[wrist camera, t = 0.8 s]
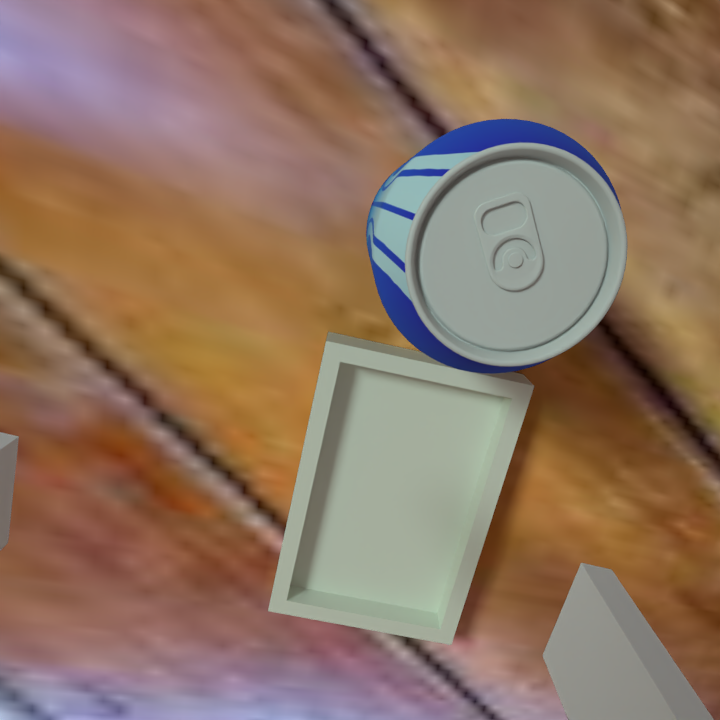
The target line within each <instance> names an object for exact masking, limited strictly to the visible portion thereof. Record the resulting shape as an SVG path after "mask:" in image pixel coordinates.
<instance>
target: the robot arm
mask: <svg viewBox="0 0 720 720" xmlns="http://www.w3.org/2000/svg"><path fill="white" fill-rule="evenodd" d="M18 439H19V436H14V435H10V434H5V433H1V432H0V550H1V549H2V548H3V547H4V546H5V545H6V544H7V543H8V538H9V528H10V518H11V508H12V498H13V488H14V478H15V468H16V459H17V449H18ZM543 658H544V661H545V663H546V666H547V668H548V671H549V673H550V676H551V678H552V681H553V683H554V686H555V688H556V690H557V693H558V695H559V698H560V700H561V703H562V705H563V708H564V710H565V713H566V715H567V718H568V720H714V719H713V718H712V716H711V715H710V713H709V712H708V710H707V709H706V707H705V706H704V704H703V703H702V701H701V700H700V698H699V697H698V696H697V694H696V693H695V691H694V690H693V688H692V687H691V685H690V684H689V682H688V681H687V679H686V678H685V676H684V675H683V674H682V672H681V671H680V669H679V668H678V666H677V665H676V663H675V662H674V660H673V659H672V657H671V656H670V655H669V653H668V652H667V650H666V649H665V647H664V646H663V644H662V643H661V641H660V640H659V638H658V637H657V635H656V634H655V633H654V631H653V630H652V628H651V627H650V625H649V624H648V622H647V621H646V619H645V618H644V616H643V615H642V613H641V612H640V611H639V609H638V608H637V606H636V605H635V603H634V602H633V600H632V599H631V597H630V596H629V594H628V593H627V591H626V590H625V589H624V587H623V586H622V584H621V583H620V581H619V580H618V578H617V577H616V575H615V574H614V572H613V571H612V570H611V569H607V568H602V567H598V566H593V565H589V564H584V563H581V564H580V567H579V569H578V572H577V574H576V576H575V579H574V581H573V584H572V586H571V588H570V591H569V593H568V596H567V598H566V600H565V603H564V605H563V608H562V610H561V612H560V615H559V617H558V620H557V622H556V624H555V627H554V629H553V632H552V634H551V636H550V639H549V641H548V644H547V646H546V648H545V651H544V653H543Z"/></svg>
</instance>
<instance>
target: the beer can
mask: <svg viewBox="0 0 720 720" xmlns="http://www.w3.org/2000/svg"><path fill="white" fill-rule="evenodd" d="M366 237H367V247H368V252H369V257H370V261H371V265H372V270H373V274H374V278H375V283H376V286H377V290H378V293H379V296H380V298H381V301H382V304H383V306H384V308H385V310H386V312H387V314H388V315H389V317H390V318H391V320H392V322H393V323H394V325H395V326H396V327H397V328H398V330H399V331H400V332H401V333H402V334H403V336H404V337H405V338H406V339H407V340H408V341H409V342H410V343H412V344H413V345H414V346H415V347H416V348H417V349H419V350H420V351H421V352H423V353H424V354H426V355H427V356H429V357H431V358H432V359H434V360H436V361H438V362H440V363H442V364H445V365H447V366H450V367H453V368H456V369H459V370H464V371H468V372H475V373H490V374H495V373H507V372H513V371H518V370H522V369H526V368H529V367H532V366H535V365H538V364H540V363H543V362H545V361H547V360H549V359H551V358H553V357H555V356H557V355H559V354H561V353H563V352H565V351H566V350H568V349H570V348H572V347H573V346H574V345H576V344H577V343H579V342H580V341H581V340H582V339H584V338H585V337H586V336H587V335H588V334H589V333H590V332H591V331H592V330H593V329H594V328H595V327H596V326H597V325H598V324H599V322H600V321H601V320H602V319H603V317H604V316H605V314H606V313H607V312H608V310H609V309H610V307H611V305H612V303H613V301H614V300H615V297H616V295H617V293H618V291H619V288H620V285H621V282H622V279H623V275H624V271H625V266H626V260H627V234H626V227H625V222H624V218H623V214H622V211H621V207H620V204H619V200H618V198H617V195H616V192H615V190H614V188H613V186H612V184H611V182H610V180H609V178H608V176H607V175H606V173H605V172H604V170H603V168H602V167H601V166H600V164H599V163H598V162H597V161H596V159H595V158H594V157H593V156H592V155H591V154H590V153H589V152H588V151H587V150H586V149H585V148H584V147H582V146H581V145H580V144H579V143H577V142H576V141H575V140H573V139H572V138H570V137H569V136H567V135H565V134H564V133H562V132H560V131H558V130H555V129H553V128H551V127H548V126H545V125H542V124H539V123H535V122H531V121H524V120H517V119H498V120H487V121H482V122H477V123H473V124H469V125H466V126H463V127H460V128H458V129H455V130H453V131H451V132H449V133H447V134H445V135H443V136H441V137H439V138H438V139H436V140H435V141H433V142H432V143H430V144H429V145H427V146H426V147H425V148H424V149H422V150H421V151H420V152H418V153H417V154H416V155H415V156H413V157H412V158H411V159H410V160H408V161H407V162H406V163H404V164H403V165H402V166H401V167H399V168H398V169H397V170H396V171H395V172H393V173H392V174H391V175H390V176H389V177H388V179H387V180H386V181H385V182H384V183H383V185H382V186H381V188H380V189H379V191H378V193H377V194H376V196H375V198H374V201H373V203H372V205H371V208H370V212H369V216H368V220H367V232H366Z"/></svg>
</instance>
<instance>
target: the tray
mask: <svg viewBox="0 0 720 720" xmlns="http://www.w3.org/2000/svg"><path fill="white" fill-rule="evenodd" d="M533 389H534V385H533V384H532V383H531V382H530V381H529V380H528V379H527V378H526V377H525V376H524V375H523V374H520V373H515V372H507V373H495V374H490V373H475V372H468V371H464V370H459V369H456V368H453V367H450V366H447V365H445V364H442V363H440V362H438V361H436V360H434V359H432V358H431V357H429V356H427V355H426V354H424V353H423V352H419V351H414V350H410V349H405V348H401V347H396V346H391V345H387V344H382V343H378V342H373V341H369V340H364V339H359V338H355V337H350V336H346V335H341V334H336V333H332V332H328V335H327V340H326V344H325V349H324V353H323V358H322V363H321V367H320V372H319V377H318V381H317V386H316V391H315V395H314V400H313V405H312V409H311V414H310V419H309V423H308V428H307V432H306V437H305V442H304V446H303V451H302V456H301V460H300V465H299V470H298V474H297V479H296V484H295V488H294V493H293V498H292V502H291V507H290V511H289V516H288V521H287V525H286V530H285V535H284V539H283V544H282V549H281V553H280V558H279V563H278V567H277V572H276V577H275V581H274V586H273V590H272V595H271V600H270V604H269V609H268V611H271V612H276V613H282V614H287V615H292V616H298V617H303V618H309V619H314V620H319V621H325V622H330V623H336V624H341V625H346V626H352V627H357V628H363V629H368V630H373V631H379V632H384V633H390V634H395V635H400V636H406V637H411V638H417V639H422V640H428V641H433V642H438V643H444V644H449V645H451V644H452V641H453V638H454V635H455V632H456V629H457V625H458V622H459V619H460V616H461V613H462V610H463V607H464V604H465V601H466V597H467V594H468V591H469V588H470V585H471V582H472V579H473V576H474V573H475V569H476V566H477V563H478V560H479V557H480V554H481V551H482V548H483V545H484V541H485V538H486V535H487V532H488V529H489V526H490V523H491V520H492V517H493V513H494V510H495V507H496V504H497V501H498V498H499V495H500V492H501V489H502V485H503V482H504V479H505V476H506V473H507V470H508V467H509V464H510V461H511V457H512V454H513V451H514V448H515V445H516V442H517V439H518V436H519V432H520V429H521V426H522V423H523V420H524V417H525V414H526V411H527V408H528V404H529V401H530V398H531V395H532V392H533Z"/></svg>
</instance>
